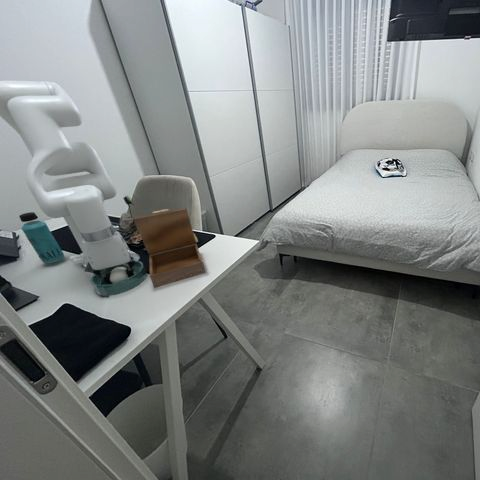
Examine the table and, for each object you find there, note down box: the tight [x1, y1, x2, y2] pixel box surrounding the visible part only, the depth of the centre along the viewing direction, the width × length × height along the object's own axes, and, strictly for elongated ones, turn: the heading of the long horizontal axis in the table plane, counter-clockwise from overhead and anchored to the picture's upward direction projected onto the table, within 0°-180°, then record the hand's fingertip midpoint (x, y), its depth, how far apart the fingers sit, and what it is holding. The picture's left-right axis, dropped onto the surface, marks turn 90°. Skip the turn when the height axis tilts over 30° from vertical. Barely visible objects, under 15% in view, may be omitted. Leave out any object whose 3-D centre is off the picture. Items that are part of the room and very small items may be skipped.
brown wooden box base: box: [148, 243, 207, 289], centre depth 91 cm, size 15×16×5 cm
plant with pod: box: [119, 195, 142, 245], centre depth 108 cm, size 8×11×20 cm
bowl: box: [89, 259, 148, 297], centre depth 85 cm, size 14×14×4 cm
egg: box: [110, 267, 129, 284], centre depth 85 cm, size 7×5×5 cm
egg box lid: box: [133, 207, 197, 256], centre depth 91 cm, size 15×16×5 cm
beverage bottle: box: [18, 211, 65, 264], centre depth 93 cm, size 6×7×20 cm
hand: (122, 280), depth 86 cm, fingers closed on egg, 4 cm apart
